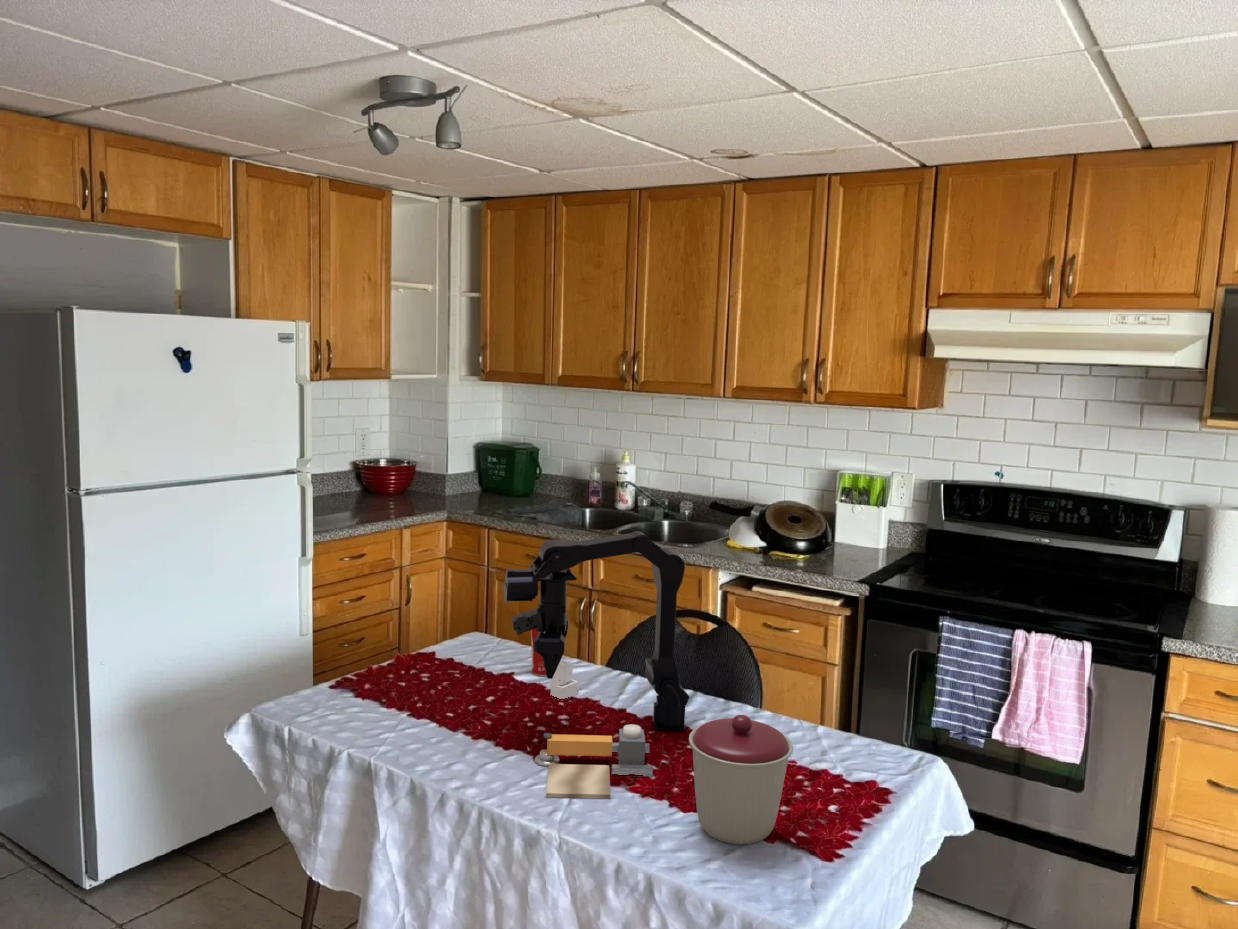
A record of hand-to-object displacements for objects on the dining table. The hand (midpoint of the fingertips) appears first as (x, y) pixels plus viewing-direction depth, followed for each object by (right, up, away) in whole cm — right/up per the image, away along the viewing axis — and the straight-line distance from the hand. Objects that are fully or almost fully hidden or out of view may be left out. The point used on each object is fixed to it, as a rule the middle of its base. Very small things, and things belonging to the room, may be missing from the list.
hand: (551, 670), depth 201 cm
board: (+7, -17, -20) cm, 27 cm away
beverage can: (-5, -9, +37) cm, 38 cm away
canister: (+35, -21, -35) cm, 54 cm away
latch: (+6, -14, -12) cm, 19 cm away
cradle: (+9, -16, -11) cm, 22 cm away
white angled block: (+1, -11, +23) cm, 26 cm away
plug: (+17, -16, -11) cm, 26 cm away
